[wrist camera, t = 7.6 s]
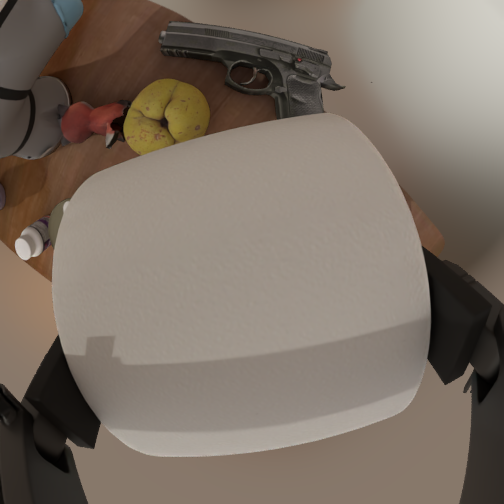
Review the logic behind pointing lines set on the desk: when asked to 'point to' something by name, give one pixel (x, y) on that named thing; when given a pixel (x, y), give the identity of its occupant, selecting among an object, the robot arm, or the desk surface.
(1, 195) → the purple rounded figurine
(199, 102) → the fruit
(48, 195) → the desk surface
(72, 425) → the robot arm
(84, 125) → the stuffed fox
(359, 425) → the white toilet paper roll
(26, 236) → the pill bottle
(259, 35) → the pistol
